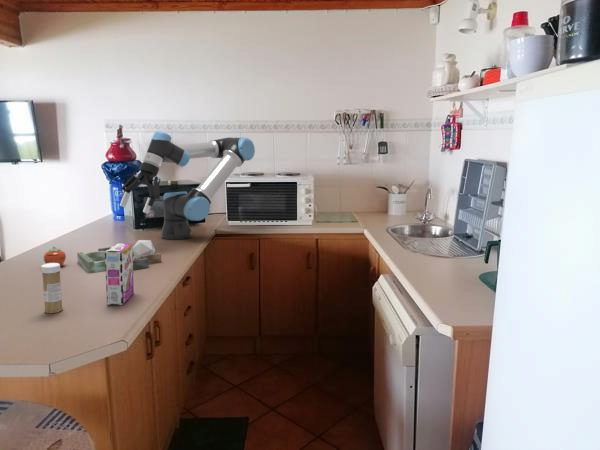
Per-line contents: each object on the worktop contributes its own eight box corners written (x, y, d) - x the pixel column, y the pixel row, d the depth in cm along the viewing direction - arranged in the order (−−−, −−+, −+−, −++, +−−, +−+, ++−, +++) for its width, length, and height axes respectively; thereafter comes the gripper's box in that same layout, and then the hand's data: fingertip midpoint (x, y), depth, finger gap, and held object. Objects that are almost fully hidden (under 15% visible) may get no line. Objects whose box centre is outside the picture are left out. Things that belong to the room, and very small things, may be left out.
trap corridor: (142, 251, 192) (141, 242, 192) (166, 265, 172) (166, 255, 171) (74, 260, 176) (74, 250, 175) (92, 276, 155) (91, 265, 154)
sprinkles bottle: (45, 309, 124) (41, 263, 121) (63, 307, 126) (60, 261, 123) (44, 315, 120) (40, 267, 117) (63, 312, 122) (59, 265, 119)
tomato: (41, 269, 161) (40, 248, 160) (47, 264, 168) (45, 244, 167) (64, 268, 163) (62, 248, 162) (68, 263, 170) (67, 243, 169)
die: (141, 264, 174) (156, 244, 175) (124, 253, 174) (138, 233, 176) (148, 266, 182) (162, 247, 183) (131, 255, 182) (145, 236, 184)
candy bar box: (124, 305, 128) (121, 251, 125) (106, 306, 127) (103, 251, 124) (135, 293, 139) (133, 242, 136) (118, 293, 138) (116, 242, 135)
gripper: (124, 157, 195) (106, 201, 191) (167, 166, 185) (149, 212, 181) (136, 163, 202) (118, 206, 198) (178, 172, 192) (161, 218, 188)
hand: (133, 209), depth 190 cm, fingers open, 13 cm apart
